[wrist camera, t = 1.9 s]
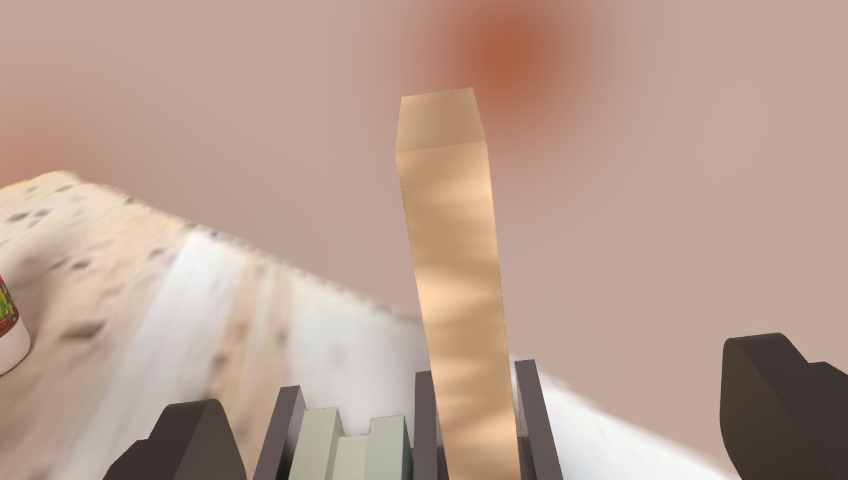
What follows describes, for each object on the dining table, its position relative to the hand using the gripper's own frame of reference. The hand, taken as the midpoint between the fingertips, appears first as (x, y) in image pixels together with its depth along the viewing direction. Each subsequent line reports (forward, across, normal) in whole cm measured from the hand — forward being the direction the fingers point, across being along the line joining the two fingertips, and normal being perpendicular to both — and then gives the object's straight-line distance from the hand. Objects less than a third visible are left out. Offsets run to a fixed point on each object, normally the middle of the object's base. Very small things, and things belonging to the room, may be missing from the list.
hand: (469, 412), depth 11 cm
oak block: (+12, 0, +18) cm, 22 cm away
